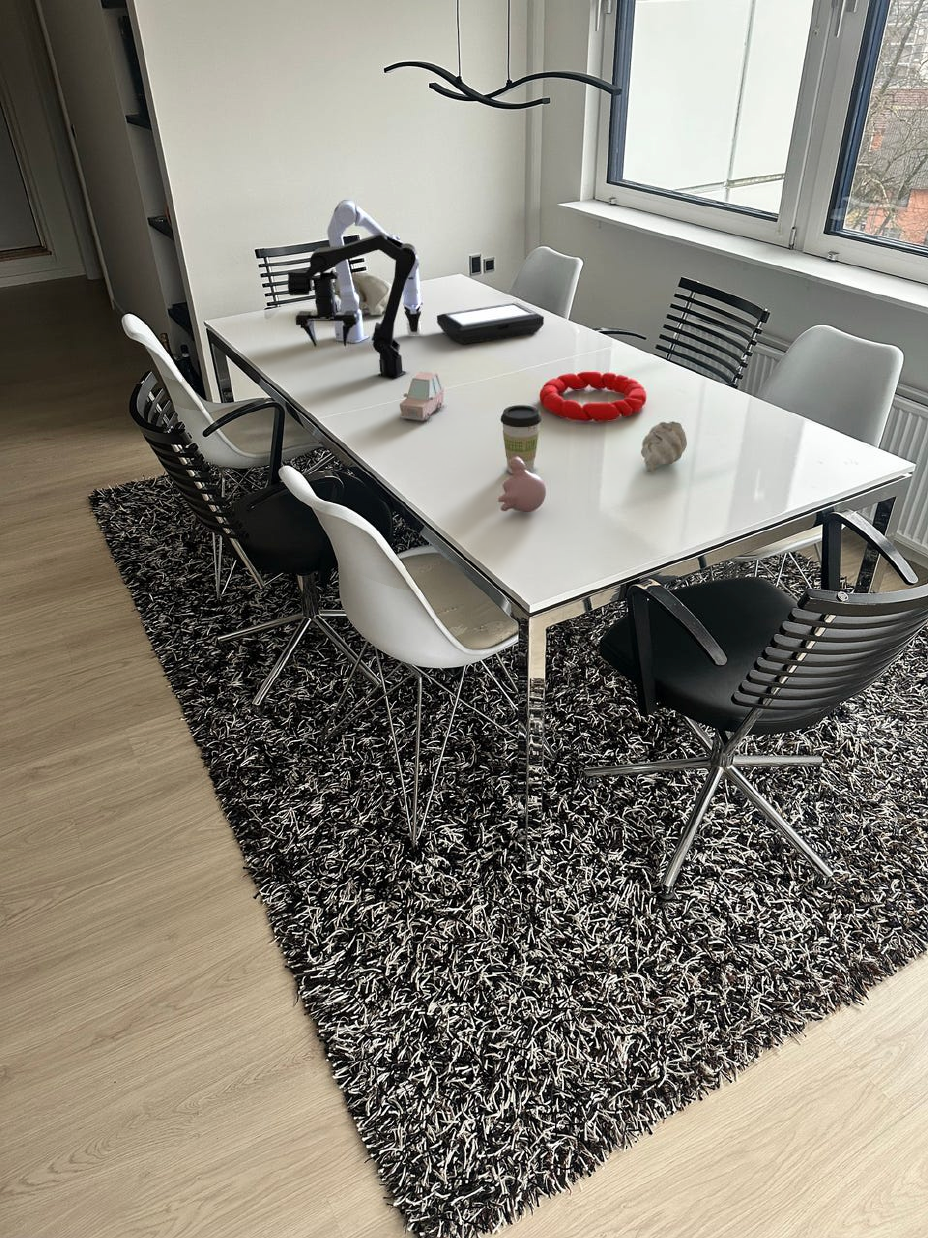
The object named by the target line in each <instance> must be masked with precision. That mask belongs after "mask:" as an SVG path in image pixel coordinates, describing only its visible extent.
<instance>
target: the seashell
mask: <svg viewBox="0 0 928 1238" xmlns="http://www.w3.org/2000/svg"><path fill="white" fill-rule="evenodd" d="M687 445H688V441H687V436H686V432H685V430H684V428H683V426H682V423H680V422H678V421H677V422H676V421H668V422H665V421H662V422H659V423H658V424H656V425H654V426H652V427H651V428H650V430H649V432H648V433H647V435H646V436H644V438H643V440H642V443H641V450H640V454H641V456H642V457H643V458H644V467H645V471H646V472H648V473H649V472H652V471H653V470H655V469H657V468H659V467H660V466H665V465H673V463H675V462H677V461H679V460H680V459H681V458H682V455H683V453H684V452H685V450H686V449H687Z"/></svg>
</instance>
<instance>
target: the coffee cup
mask: <svg viewBox="0 0 928 1238" xmlns="http://www.w3.org/2000/svg"><path fill="white" fill-rule="evenodd" d="M499 419H500V422H501V423H502V435H503V444H504V445H503V446H504V452H505V458H506V464H507V471H508V472H509V473H510V474H512V469H511V468H510V467H509V461H510V460H511V459H512V458H514V457H519V458H520V459H521V460H522V461H523V462H524V464H525V466H526V471H528V472H529V473H532V472H534V465H535V458H536V455H537V450H538V449H537V448H538V443H539V434H540V423H541V422H542V420H543V419H542V415H541V414H540V410H539V409H538V408H537V407H534V406H531V405H525V404H516V405H511V406H508V407H506V408H504V409H503V411H502V414H501V416H500V418H499Z"/></svg>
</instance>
